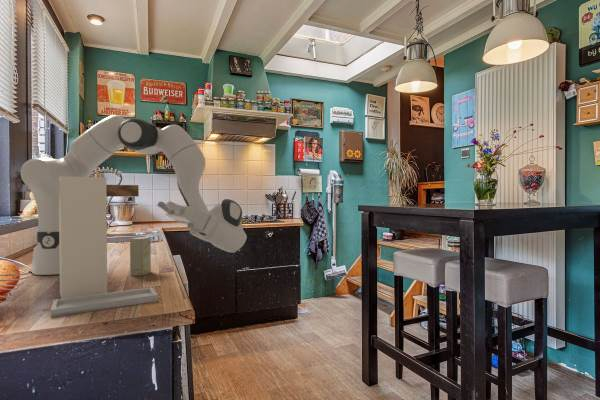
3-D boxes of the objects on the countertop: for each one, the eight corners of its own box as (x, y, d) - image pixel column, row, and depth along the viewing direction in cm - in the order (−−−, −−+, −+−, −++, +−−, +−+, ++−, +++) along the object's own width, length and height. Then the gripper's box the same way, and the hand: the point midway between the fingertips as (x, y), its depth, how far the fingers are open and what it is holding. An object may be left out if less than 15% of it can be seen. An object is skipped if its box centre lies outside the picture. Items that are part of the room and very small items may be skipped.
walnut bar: (136, 196, 103) (136, 185, 103) (138, 196, 100) (138, 185, 100) (61, 196, 92) (61, 184, 92) (62, 196, 89) (62, 183, 89)
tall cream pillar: (102, 287, 100) (101, 178, 100) (107, 294, 93) (106, 177, 93) (59, 293, 94) (58, 177, 94) (61, 301, 87) (60, 176, 87)
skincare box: (143, 275, 115) (142, 238, 115) (129, 275, 115) (129, 238, 115) (151, 271, 121) (151, 236, 121) (138, 271, 121) (138, 236, 121)
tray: (152, 293, 94) (151, 287, 94) (157, 301, 87) (157, 294, 87) (53, 306, 83) (53, 299, 83) (51, 317, 75) (50, 309, 75)
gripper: (194, 214, 122) (158, 194, 115) (219, 216, 106) (178, 193, 98) (186, 230, 120) (148, 211, 113) (209, 235, 104) (167, 213, 97)
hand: (162, 203), depth 106 cm, fingers open, 8 cm apart
